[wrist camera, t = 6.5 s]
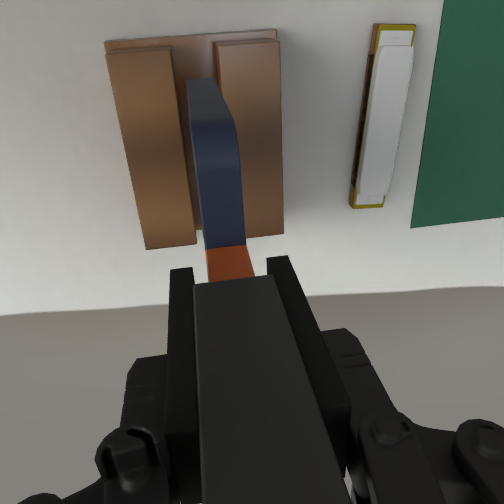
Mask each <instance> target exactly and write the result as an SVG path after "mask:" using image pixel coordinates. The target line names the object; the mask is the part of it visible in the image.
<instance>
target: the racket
mask: <svg viewBox="0 0 504 504" xmlns="http://www.w3.org/2000/svg"><path fill="white" fill-rule="evenodd" d="M186 84H187V97H188V109H189V122H190V132H191V140H192V149H193V157H194V165H195V173H196V181H197V189H198V197H199V204H200V212H201V220H202V228H203V236H204V244H205V252H206V262H207V272H208V283H200V284H195V285H193V305H194V328H195V350H196V373H197V396H198V419H199V441H200V464H201V487H202V504H352V502H351V499H350V496H349V493H348V490H347V487H346V484H345V482H344V479H343V476H342V473H341V470H340V467H339V464H338V461H337V458H336V455H335V452H334V450H333V447H332V444H331V441H330V438H329V435H328V432H327V429H326V426H325V424H324V421H323V418H322V415H321V412H320V409H319V406H318V403H317V400H316V398H315V395H314V392H313V389H312V386H311V383H310V380H309V377H308V374H307V372H306V369H305V366H304V363H303V360H302V357H301V354H300V351H299V348H298V346H297V343H296V340H295V337H294V334H293V331H292V328H291V325H290V322H289V320H288V317H287V314H286V311H285V308H284V305H283V302H282V299H281V296H280V294H279V291H278V288H277V285H276V282H275V279H274V277H273V275H263V276H256V277H255V274H254V271H253V267H252V264H251V260H250V256H249V253H248V249H247V246H246V235H245V221H244V206H243V192H242V178H241V163H240V153H239V144H238V137H237V131H236V126H235V121H234V118H233V116H232V114H231V112H230V110H229V108H228V106H227V104H226V102H225V100H224V97H223V95H222V93H221V91H220V89H219V87H218V85H217V83H216V81H215V79H214V77H211V78H198V79H187V80H186Z"/></svg>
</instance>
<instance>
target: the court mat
mask: <svg viewBox="0 0 504 504" xmlns="http://www.w3.org/2000/svg"><path fill="white" fill-rule="evenodd" d="M499 217H504V0H444V6H443V13H442V19H441V26H440V33H439V40H438V46H437V53H436V60H435V67H434V73H433V80H432V87H431V93H430V100H429V107H428V114H427V120H426V127H425V134H424V140H423V147H422V154H421V161H420V167H419V174H418V181H417V188H416V194H415V201H414V208H413V214H412V221H411V228H416V227H425V226H433V225H441V224H449V223H458V222H466V221H474V220H482V219H491V218H499Z"/></svg>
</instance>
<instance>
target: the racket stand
mask: <svg viewBox="0 0 504 504" xmlns="http://www.w3.org/2000/svg"><path fill="white" fill-rule="evenodd" d="M104 47H105V52H106V54H105V57H106V62H107V67H108V72H109V76H110V81H111V86H112V91H113V95H114V100H115V105H116V110H117V114H118V119H119V124H120V129H121V133H122V138H123V143H124V148H125V152H126V157H127V162H128V167H129V171H130V176H131V181H132V186H133V190H134V195H135V200H136V205H137V209H138V214H139V219H140V224H141V228H142V233H143V238H144V243H145V247H146V250H152V249H160V248H168V247H177V246H185V245H194V244H197V236H196V230H201V229H203V228H202V220H201V212H200V204H199V197H198V189H197V181H196V173H195V165H194V157H193V149H192V140H191V132H190V122H189V109H188V97H187V84H186V80H187V79H198V78H211V77H214V79H215V81H216V83H217V85H218V87H219V89H220V91H221V93H222V95H223V97H224V100H225V102H226V104H227V106H228V108H229V110H230V112H231V114H232V116H233V118H234V121H235V126H236V131H237V137H238V144H239V153H240V163H241V178H242V192H243V206H244V221H245V235H246V238H254V237H262V236H270V235H279V234H284V215H283V166H282V117H281V68H280V41H277V30H276V29H263V30H249V31H235V32H221V33H207V34H192V35H178V36H164V37H150V38H136V39H122V40H108V41H105V42H104Z"/></svg>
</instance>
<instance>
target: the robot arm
mask: <svg viewBox="0 0 504 504" xmlns="http://www.w3.org/2000/svg"><path fill="white" fill-rule="evenodd" d="M267 275H273V277H274V279H275V282H276V285H277V288H278V291H279V294H280V296H281V299H282V302H283V305H284V308H285V311H286V314H287V317H288V320H289V322H290V325H291V328H292V331H293V334H294V337H295V340H296V343H297V346H298V348H299V351H300V354H301V357H302V360H303V363H304V366H305V369H306V372H307V374H308V377H309V380H310V383H311V386H312V389H313V392H314V395H315V398H316V400H317V403H318V406H319V409H320V412H321V415H322V418H323V421H324V424H325V426H326V429H327V432H328V435H329V438H330V441H331V444H332V447H333V450H334V452H335V455H336V458H337V461H338V464H339V467H340V470H341V473H342V476H343V478H345V471H346V466H347V469H348V472H349V475H350V477H351V480H352V490H351V502H352V504H504V428H503V427H501V426H499V425H497V424H495V423H493V422H491V421H486V420H482V419H473V420H467V421H466V422H464V423H462V424H460V425H459V427H458V429H457V431H456V432H454V431H446V430H439V429H432V428H427V427H422V426H420V425H417V424H415V423H413V422H412V421H411V420H410V419H409V418H407V417H406V416H405V415H404V414H403V413H400V412H398V411H397V409H396V408H395V407H394V405H393V403H392V401H391V400H390V398H389V396H388V394H387V392H386V390H385V388H384V387H383V385H382V383H381V381H380V379H379V377H378V375H377V374H376V372H375V370H374V368H373V366H372V365H371V362H370V360H369V359H368V357H367V355H366V354H365V351H364V349H363V347H362V345H361V343H360V342H359V340H358V338H357V337H355V336H354V335H353V334H352V333H351V332H349V331H348V330H347V329H346V328H342V329H334V330H327V331H320V329H319V327H318V325H317V322H316V320H315V318H314V315H313V313H312V311H311V308H310V306H309V304H308V301H307V299H306V297H305V294H304V292H303V290H302V288H301V285H300V283H299V281H298V278H297V276H296V274H295V271H294V269H293V267H292V264H291V262H290V260H289V257H288V255H286V256H277V257H269V258H267ZM193 285H195V281H194V275H193V268H192V267H188V268H180V269H172V270H170V290H169V317H168V343H167V345H168V346H167V354H165V355H159V356H152V357H144V358H137V359H136V361H135V362H134V364H133V365H132V367H131V369H130V370H129V372H128V374H127V381H126V388H125V389H126V391H125V395H124V404H123V409H122V415H121V422H120V427H119V428H117V429H115V430H113V431H112V432H111V433H110V434H109V435H107V436H106V437H105V438H104V439H103V441H102V442H101V444H100V445H99V447H98V448H97V452H96V456H95V462H96V465H97V467H98V470H99V472H100V475H101V478H99V479H98V480H97V481H96V482H95V483H93V484H91V485H90V486H88V487H86V488H84V489H82V490H81V491H78V492H76V493H74V494H72V495H70V496H68V497H66V498H64V499H62V500H61V499H60V498H59V497H58V496H56V495H55V494H48V493H41V494H37V495H33V496H30V497H28V498H26V499H25V500H23V501H22V502H20V503H18V504H180V501H181V504H199V503H202V487H201V464H200V441H199V419H198V396H197V373H196V350H195V328H194V305H193Z"/></svg>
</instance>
